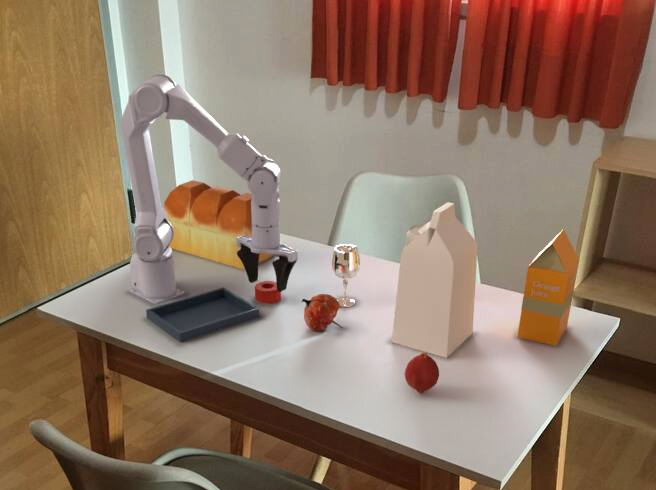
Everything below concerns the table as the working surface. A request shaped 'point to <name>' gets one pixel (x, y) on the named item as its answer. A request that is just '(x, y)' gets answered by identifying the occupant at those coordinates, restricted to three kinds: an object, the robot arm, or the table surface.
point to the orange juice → (549, 292)
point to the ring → (267, 292)
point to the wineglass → (345, 268)
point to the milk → (436, 286)
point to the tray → (202, 314)
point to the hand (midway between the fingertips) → (267, 285)
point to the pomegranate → (320, 311)
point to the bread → (209, 221)
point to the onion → (422, 373)
